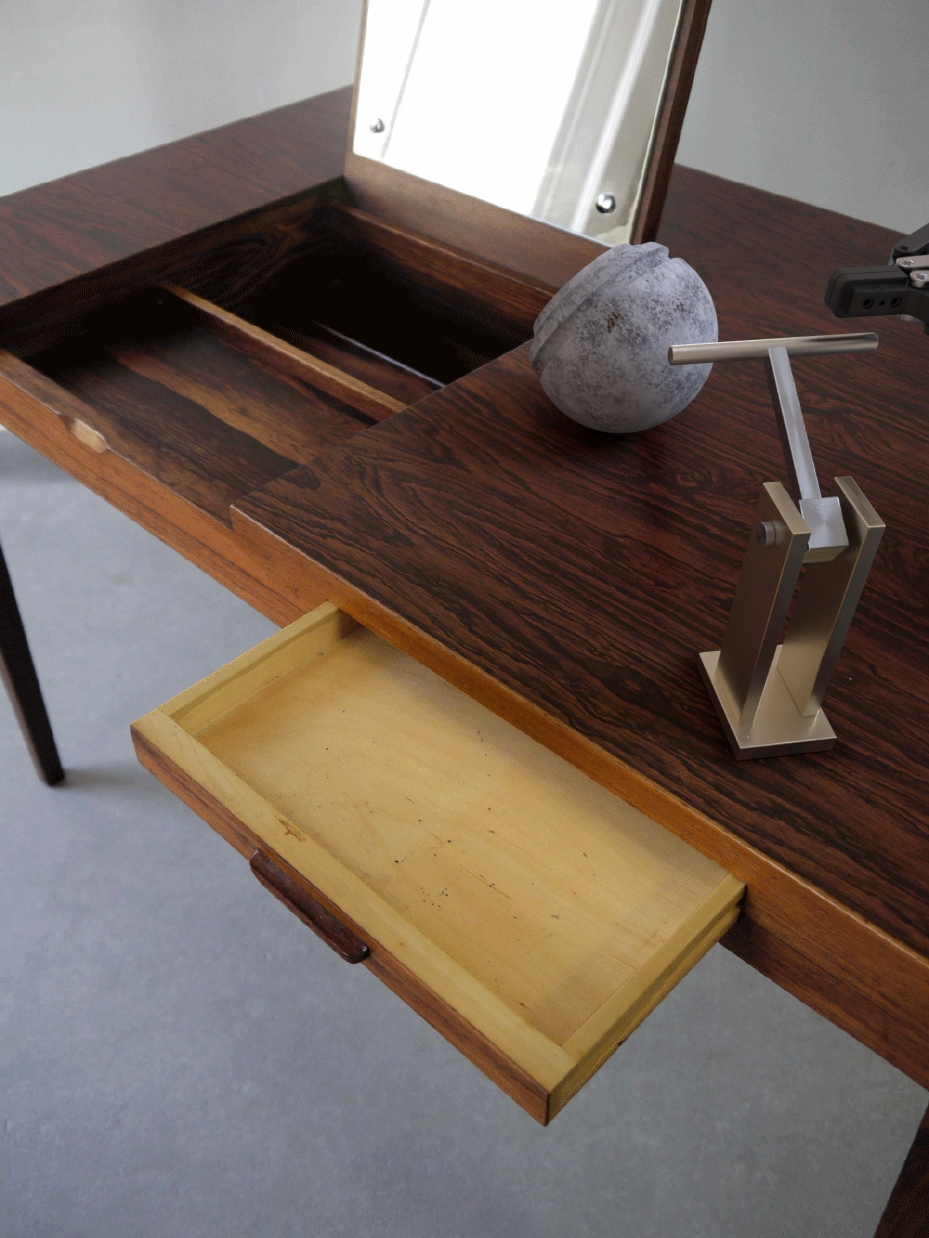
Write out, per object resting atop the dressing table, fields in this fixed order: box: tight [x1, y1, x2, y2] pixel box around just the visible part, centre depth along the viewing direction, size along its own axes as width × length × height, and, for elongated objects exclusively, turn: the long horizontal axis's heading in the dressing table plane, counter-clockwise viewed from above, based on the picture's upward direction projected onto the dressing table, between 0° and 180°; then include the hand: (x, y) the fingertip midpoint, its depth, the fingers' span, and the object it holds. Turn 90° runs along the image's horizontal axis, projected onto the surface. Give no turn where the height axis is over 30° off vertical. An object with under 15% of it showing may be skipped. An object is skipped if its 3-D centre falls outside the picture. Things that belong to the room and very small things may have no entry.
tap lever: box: [667, 331, 879, 564], centre depth 58 cm, size 13×12×2 cm
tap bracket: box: [695, 475, 886, 762], centre depth 60 cm, size 8×6×16 cm
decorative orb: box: [528, 241, 719, 434], centre depth 84 cm, size 15×14×15 cm
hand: (832, 294), depth 57 cm, fingers closed
